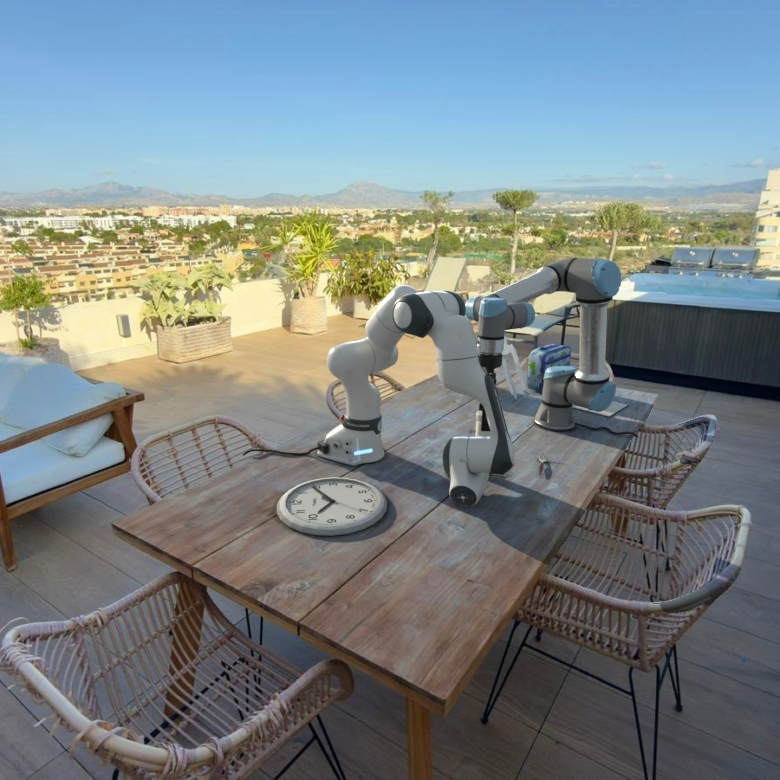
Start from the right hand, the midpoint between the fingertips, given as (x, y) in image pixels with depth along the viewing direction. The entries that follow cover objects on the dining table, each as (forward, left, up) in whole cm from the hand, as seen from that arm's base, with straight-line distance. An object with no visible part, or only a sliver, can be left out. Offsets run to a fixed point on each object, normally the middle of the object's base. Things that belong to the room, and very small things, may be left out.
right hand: (484, 427), depth 158 cm
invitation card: (-55, -73, -16) cm, 93 cm away
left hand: (0, -1, -9) cm, 9 cm away
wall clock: (+41, +26, -16) cm, 51 cm away
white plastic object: (-3, -85, -16) cm, 87 cm away
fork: (-20, -8, -16) cm, 27 cm away
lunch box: (-36, -97, -16) cm, 105 cm away
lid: (0, 0, +4) cm, 4 cm away
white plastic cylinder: (0, 0, -16) cm, 16 cm away
